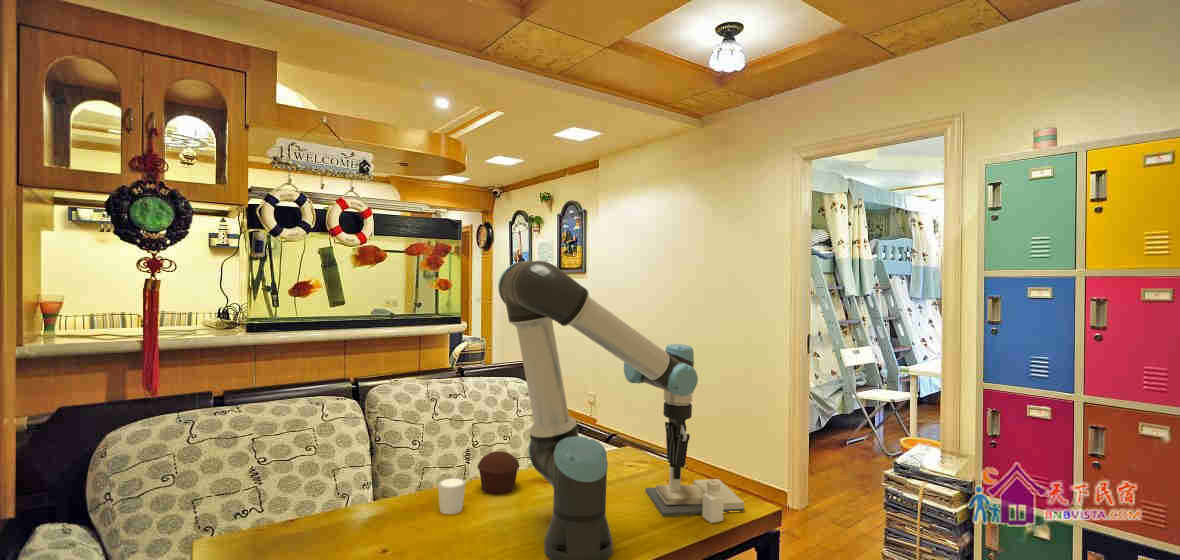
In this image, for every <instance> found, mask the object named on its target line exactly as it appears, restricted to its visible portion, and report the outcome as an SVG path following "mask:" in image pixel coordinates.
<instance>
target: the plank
mask: <svg viewBox="0 0 1180 560" xmlns="http://www.w3.org/2000/svg"><path fill="white" fill-rule="evenodd" d="M655 488H656V492H657V493H658V494H659V496H660V497H661V498H662V500H663V501H664V502H665V504H666V505H681V504H703V494H705V493H704V491H703V490H702V489H701V488H700V487H699V486H698V485H694V484H681V487H680V490H673V491H671V490H670V489H669V484H656V485H655Z"/></svg>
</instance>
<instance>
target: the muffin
mask: <svg viewBox="0 0 1180 560" xmlns="http://www.w3.org/2000/svg"><path fill="white" fill-rule="evenodd" d="M519 468H520V462H519V461H518V459H517V458H516V457H515V456H514V455H513V454H510V452H507V451H491V452H489V453H487V454H486V455H484V456H482V458H481V459H480V461H478V464H477V469H478V470H479V476H480V483H481V490H482V491H483V492H484V493H485V494H488V495H492V496H498V495H506V494H508V493H512V492H513V490H514V489H515V486H516V479H517V474H518V470H519Z"/></svg>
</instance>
